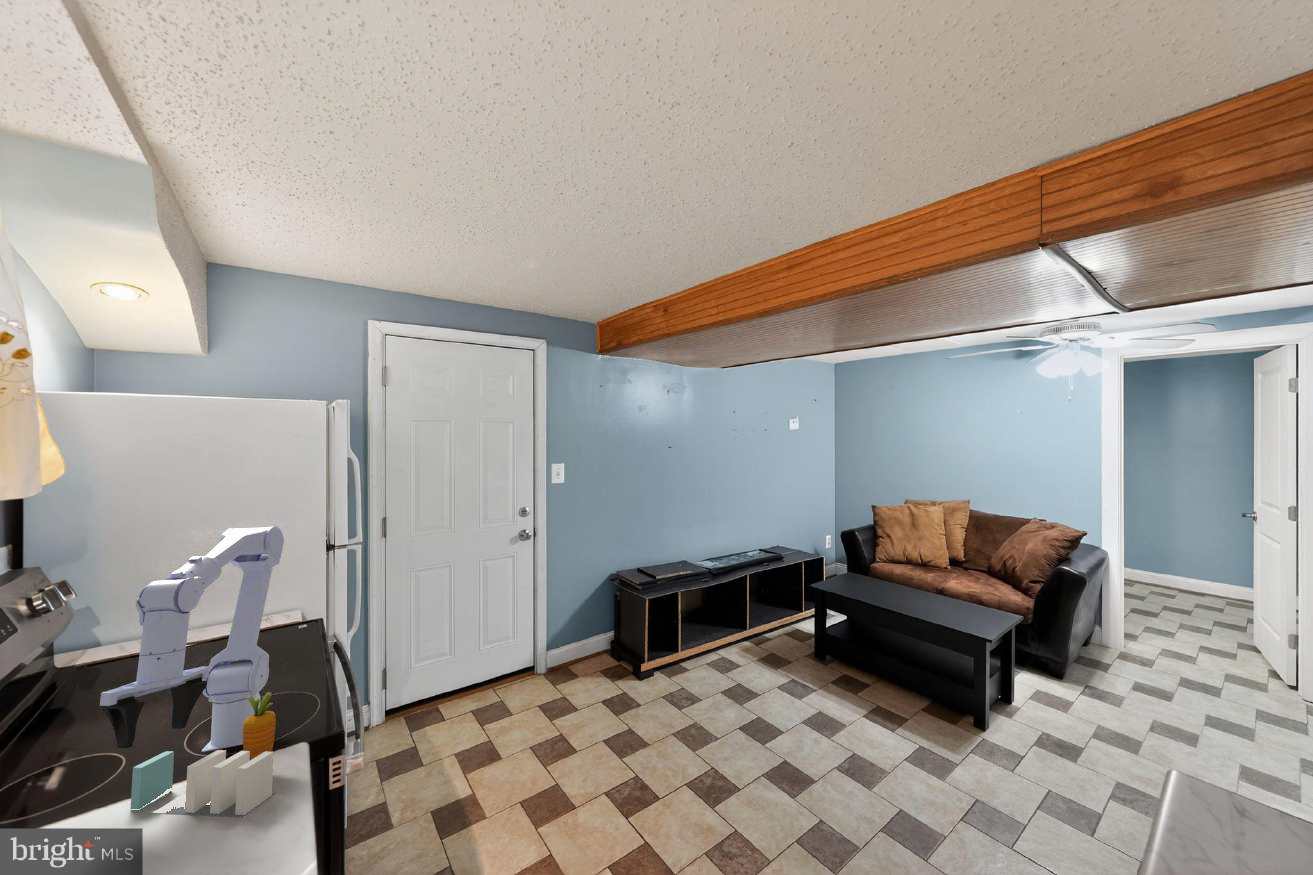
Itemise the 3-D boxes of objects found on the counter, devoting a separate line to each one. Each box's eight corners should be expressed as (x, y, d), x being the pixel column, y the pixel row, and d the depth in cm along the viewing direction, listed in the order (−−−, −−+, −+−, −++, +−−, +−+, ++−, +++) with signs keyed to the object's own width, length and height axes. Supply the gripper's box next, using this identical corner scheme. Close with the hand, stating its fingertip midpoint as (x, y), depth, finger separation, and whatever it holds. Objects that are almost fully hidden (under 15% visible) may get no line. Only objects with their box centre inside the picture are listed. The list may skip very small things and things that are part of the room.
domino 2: (209, 813, 80) (212, 767, 80) (239, 794, 84) (241, 750, 85) (218, 813, 79) (221, 767, 80) (247, 794, 84) (249, 750, 85)
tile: (130, 812, 81) (132, 767, 82) (163, 793, 86) (165, 751, 87) (138, 813, 81) (141, 767, 82) (171, 793, 86) (174, 751, 86)
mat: (150, 815, 80) (150, 812, 80) (188, 792, 86) (188, 790, 86) (242, 819, 78) (242, 817, 78) (275, 796, 84) (275, 793, 84)
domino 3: (235, 814, 79) (237, 768, 80) (263, 794, 84) (265, 751, 85) (244, 814, 79) (246, 768, 80) (271, 795, 84) (273, 751, 85)
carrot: (233, 784, 88) (237, 695, 90) (266, 769, 93) (269, 685, 94) (247, 791, 86) (251, 700, 87) (280, 776, 90) (283, 690, 92)
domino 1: (184, 812, 80) (187, 766, 81) (215, 793, 85) (217, 749, 86) (193, 812, 80) (196, 766, 81) (223, 793, 85) (226, 750, 85)
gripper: (129, 663, 78) (117, 758, 75) (225, 641, 92) (217, 720, 89) (95, 662, 79) (82, 756, 77) (195, 641, 93) (186, 719, 91)
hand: (153, 737), depth 83 cm, fingers open, 7 cm apart
